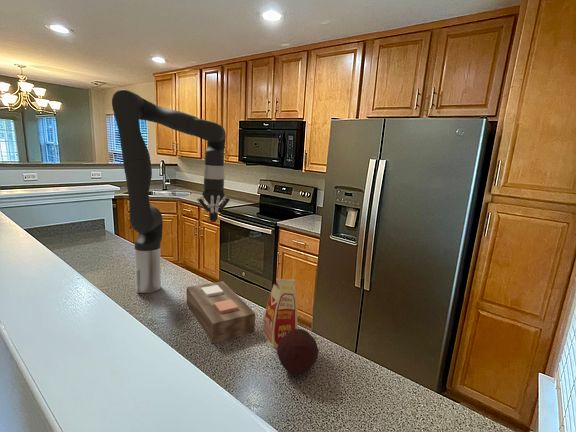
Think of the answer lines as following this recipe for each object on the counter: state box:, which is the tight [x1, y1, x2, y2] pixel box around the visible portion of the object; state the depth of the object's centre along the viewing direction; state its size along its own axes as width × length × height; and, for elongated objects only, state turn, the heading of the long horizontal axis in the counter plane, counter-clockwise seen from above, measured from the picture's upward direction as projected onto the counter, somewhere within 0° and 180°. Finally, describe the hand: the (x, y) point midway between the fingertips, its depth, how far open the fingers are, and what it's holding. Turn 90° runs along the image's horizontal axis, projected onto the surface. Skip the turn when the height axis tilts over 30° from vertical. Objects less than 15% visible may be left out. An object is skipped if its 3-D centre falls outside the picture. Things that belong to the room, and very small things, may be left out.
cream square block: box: [201, 285, 223, 297], centre depth 113 cm, size 6×6×4 cm
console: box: [186, 280, 257, 344], centre depth 108 cm, size 14×28×6 cm, turn 33°
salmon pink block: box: [214, 299, 238, 314], centre depth 102 cm, size 6×6×4 cm
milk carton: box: [262, 277, 298, 349], centre depth 97 cm, size 9×9×20 cm
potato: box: [276, 328, 319, 378], centre depth 84 cm, size 11×13×10 cm
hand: (213, 221), depth 123 cm, fingers closed
